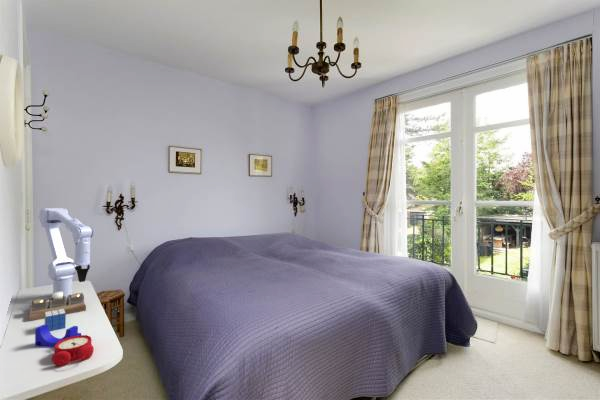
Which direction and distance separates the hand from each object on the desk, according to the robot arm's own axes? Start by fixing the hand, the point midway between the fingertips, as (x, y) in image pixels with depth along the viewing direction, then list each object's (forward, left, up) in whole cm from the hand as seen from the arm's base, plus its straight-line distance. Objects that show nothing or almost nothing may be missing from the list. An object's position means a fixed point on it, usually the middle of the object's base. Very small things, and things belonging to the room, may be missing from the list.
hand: (81, 281), depth 140 cm
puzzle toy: (+27, -11, -10) cm, 31 cm away
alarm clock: (+56, -8, -10) cm, 58 cm away
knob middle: (+6, -9, -5) cm, 12 cm away
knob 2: (+6, -3, -7) cm, 10 cm away
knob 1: (+6, -15, -7) cm, 18 cm away
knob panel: (+6, -9, -9) cm, 14 cm away
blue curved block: (+43, -11, -10) cm, 46 cm away
